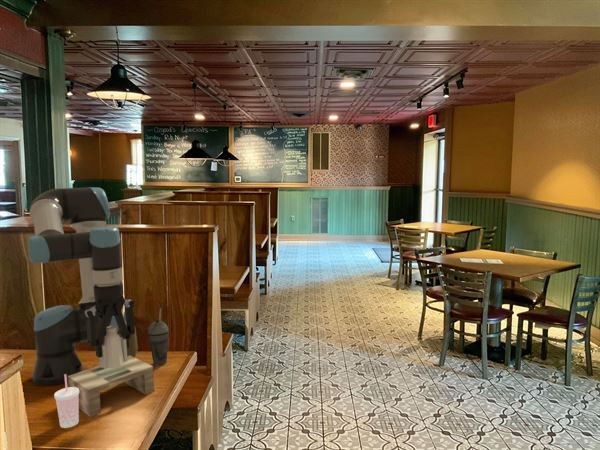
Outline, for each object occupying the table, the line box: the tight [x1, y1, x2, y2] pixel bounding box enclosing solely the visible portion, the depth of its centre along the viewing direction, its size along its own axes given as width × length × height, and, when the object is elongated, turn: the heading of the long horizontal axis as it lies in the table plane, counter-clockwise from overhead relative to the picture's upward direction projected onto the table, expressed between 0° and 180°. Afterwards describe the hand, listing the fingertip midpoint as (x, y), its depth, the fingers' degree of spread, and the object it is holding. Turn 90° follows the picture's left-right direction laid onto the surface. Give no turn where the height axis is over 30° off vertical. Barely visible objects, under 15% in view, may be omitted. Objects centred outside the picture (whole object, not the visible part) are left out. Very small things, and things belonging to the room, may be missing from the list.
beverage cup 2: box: [147, 308, 170, 367], centre depth 164 cm, size 7×7×20 cm
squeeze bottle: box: [117, 310, 139, 358], centre depth 168 cm, size 8×8×18 cm
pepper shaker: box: [104, 326, 124, 369], centre depth 128 cm, size 5×5×11 cm
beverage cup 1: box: [53, 374, 80, 429], centre depth 125 cm, size 6×6×14 cm
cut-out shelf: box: [67, 356, 155, 418], centre depth 140 cm, size 14×20×8 cm
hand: (113, 363), depth 129 cm, fingers closed on pepper shaker, 5 cm apart
